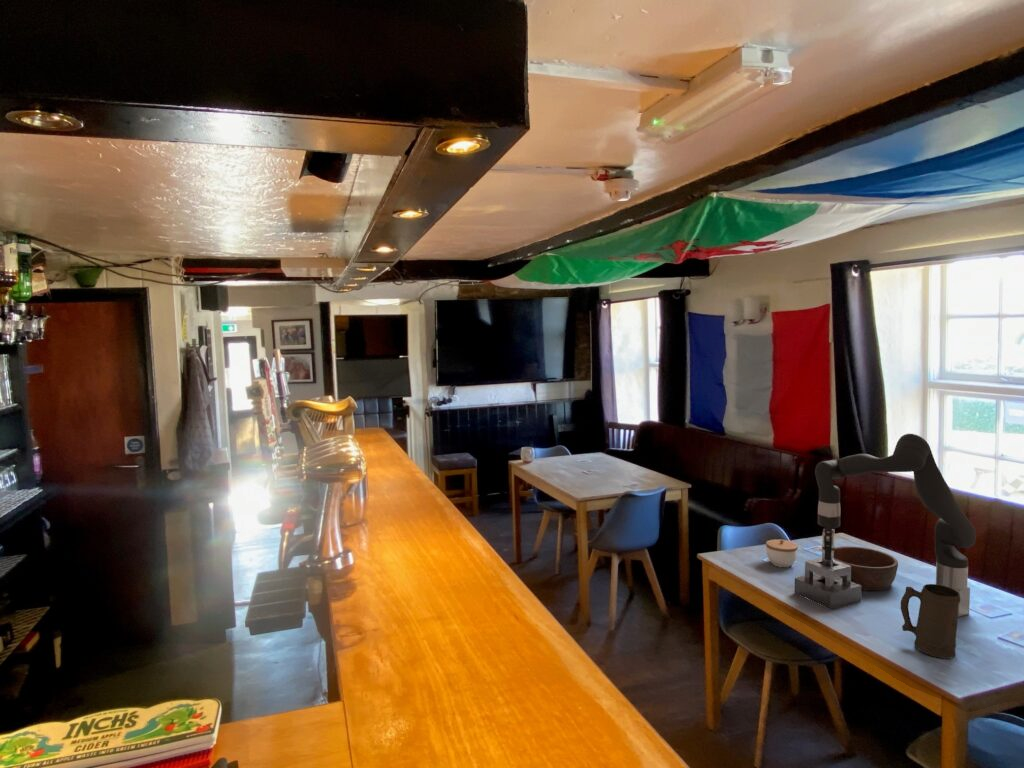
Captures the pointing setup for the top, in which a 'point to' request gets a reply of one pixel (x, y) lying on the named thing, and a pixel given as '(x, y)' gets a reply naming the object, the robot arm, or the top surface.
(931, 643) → the beer stein
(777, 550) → the lidded bowl
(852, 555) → the wooden bowl
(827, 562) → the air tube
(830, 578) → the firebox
